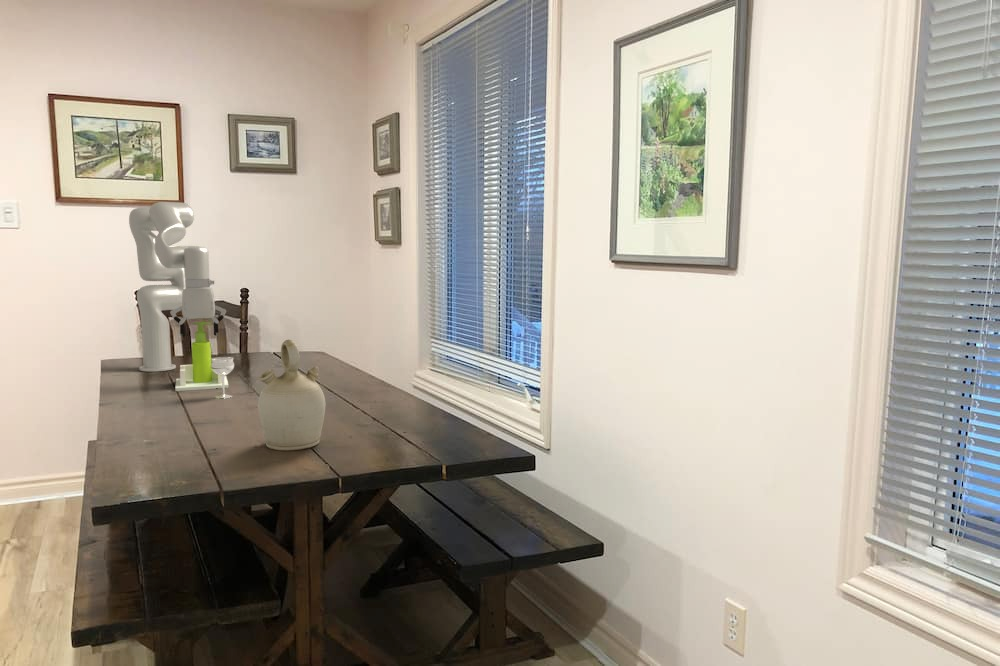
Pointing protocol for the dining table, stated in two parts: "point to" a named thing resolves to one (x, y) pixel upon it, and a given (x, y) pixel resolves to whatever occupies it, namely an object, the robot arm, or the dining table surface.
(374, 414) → the dining table surface
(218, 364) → the wineglass
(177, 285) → the robot arm
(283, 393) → the jug
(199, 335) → the soap dispenser
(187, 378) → the u rest
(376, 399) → the dining table surface
